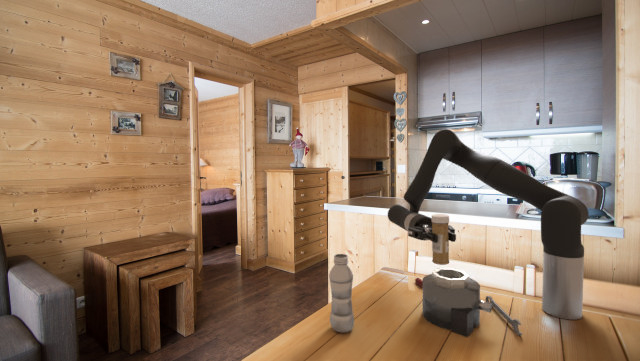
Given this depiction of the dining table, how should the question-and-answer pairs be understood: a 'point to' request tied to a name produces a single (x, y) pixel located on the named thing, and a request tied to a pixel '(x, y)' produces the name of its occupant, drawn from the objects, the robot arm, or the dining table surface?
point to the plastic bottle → (341, 295)
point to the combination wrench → (505, 315)
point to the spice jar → (440, 239)
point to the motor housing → (453, 301)
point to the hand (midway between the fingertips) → (445, 238)
